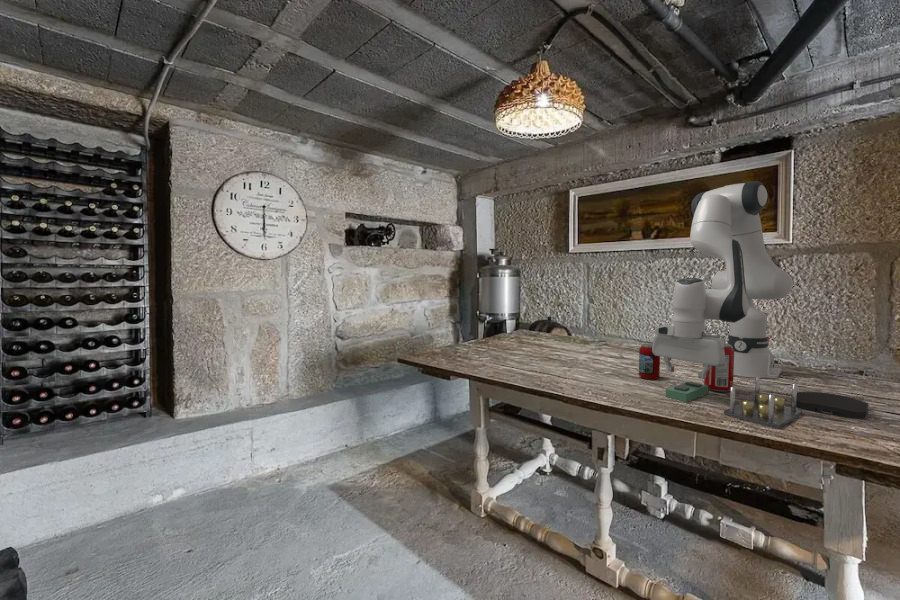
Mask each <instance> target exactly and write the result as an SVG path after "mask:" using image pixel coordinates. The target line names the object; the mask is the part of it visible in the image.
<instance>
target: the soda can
mask: <svg viewBox="0 0 900 600" xmlns="http://www.w3.org/2000/svg"><path fill="white" fill-rule="evenodd" d="M724 352H725V363H724V364H723V365H721V366H713V365H711V368H710V369H709V370H708V371H707V372H706V378H705V379H704V380H703V385H708V391H712V390H713V391H712V392H716V391H719V392H718V393H728V392H731V387H734V376H735V375H734V350H733V348H732V345H730V344H728V343H725V348H724Z"/></svg>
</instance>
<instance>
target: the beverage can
mask: <svg viewBox="0 0 900 600" xmlns="http://www.w3.org/2000/svg"><path fill="white" fill-rule="evenodd" d="M652 346H653V343H643V344H641V346H640V347H639V351H638V355H639V356H638V376H639V377H641V378H642V379H644V380H648V381H650V380H652V381H653V380H655V381H656V380H657V379H659V378H660V372H661V371H660V370H661V369H660V368H661V367H660V366H661V356H656V355H654V354H653V352H652Z"/></svg>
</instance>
